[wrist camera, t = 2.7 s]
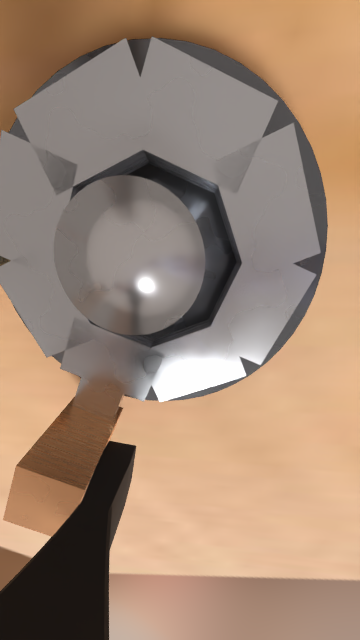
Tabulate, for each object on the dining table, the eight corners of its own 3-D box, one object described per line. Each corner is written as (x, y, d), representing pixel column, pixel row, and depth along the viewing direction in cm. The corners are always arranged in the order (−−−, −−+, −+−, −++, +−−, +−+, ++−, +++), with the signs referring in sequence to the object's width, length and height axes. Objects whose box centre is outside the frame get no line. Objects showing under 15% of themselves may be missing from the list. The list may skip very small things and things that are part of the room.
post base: (361, 156, 9) (605, 8, 4) (232, 407, 13) (259, 509, 8) (46, 31, 8) (-204, -357, 3) (15, 335, 12) (-115, 393, 7)
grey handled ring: (46, 11, 7) (-161, -337, 3) (362, 171, 7) (553, 73, 3) (-15, 404, 11) (-122, 479, 7) (180, 476, 12) (174, 580, 8)
